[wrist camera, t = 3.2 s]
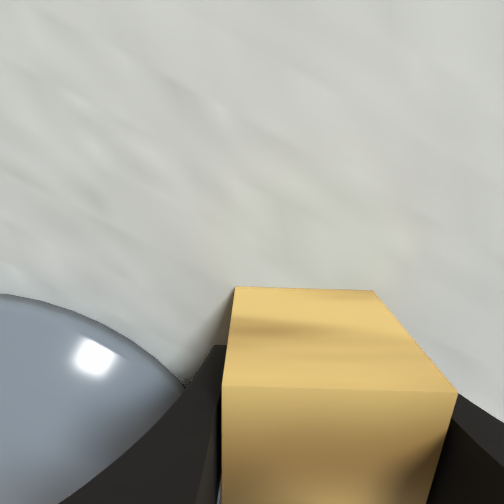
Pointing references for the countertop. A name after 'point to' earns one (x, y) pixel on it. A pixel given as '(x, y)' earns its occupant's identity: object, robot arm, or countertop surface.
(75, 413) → the plate
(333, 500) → the cube
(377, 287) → the countertop surface
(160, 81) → the countertop surface
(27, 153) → the countertop surface
